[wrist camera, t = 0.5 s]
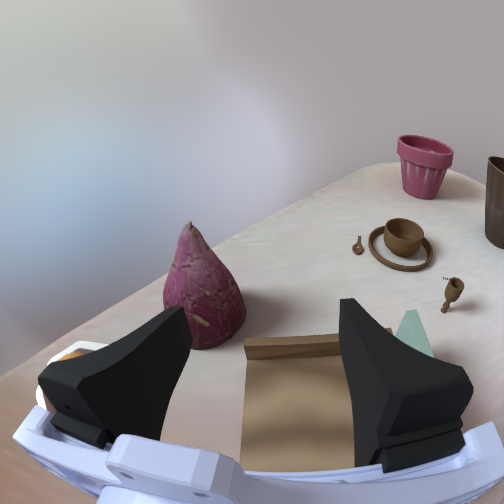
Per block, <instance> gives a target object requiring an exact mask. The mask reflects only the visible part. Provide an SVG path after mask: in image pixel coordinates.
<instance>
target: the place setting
mask: <svg viewBox="0 0 504 504" xmlns="http://www.w3.org/2000/svg"><path fill="white" fill-rule="evenodd" d="M383 233H384V242H385V245H386V246H387V247H388V249H390V250H391V252H392V253H393V254H395V255H397V256H401V257H405V256H409V255H413V254H415V253H416V252H417V251H418V250H419V249H420V246H421V244H422V245H423V246H424V248H425V249H426V252H427V260H426V262H425V263H423V264H421V265H417V266H403V265H398V264H395V263H392V262H390V261H388V260H386V259H384V258H383V257H381V256H380V255H379V254H378V253H377V252H376V251H375V250H374V249H373V247H372V243H373V240H374V239H375V238H376V237H377V236H378V235H380V234H383ZM360 240H361V236H358V242H357V243H356V244H355V245H354V246H353V247H352V249H353V252H354V253H355V254H360V253H361V252H362V251H363V246H362V245H361V243H360ZM357 246H358V247H359V248H357ZM369 248H370V251H371V253H372V254H373V256H374V257H375V258H376V259H377V260H378V261H379V262H381V263H382V264H384V265H386V266H388V267H390V268H392V269H395V270H399V271H417V270H420V269H422V268H424V267H425V266H427V264H428V263H429V262H430V260H431V258H432V254H433V251H432V247H431V245H430V243H429V242H428V241H427V239H426V238H425V237H424V232H423V230H422V228H421V227H420V226H419V225H418V224H416V223H415V222H413V221H410V220H407V219H402V218H395V219H391V220H389V221H388V222H387V223H386V225H385V226H381V227H379V228H376V229H375V230H373V231H372V232H371V234H370V236H369ZM443 279H444V277H443ZM445 279H446V278H445ZM447 280H448V278H447ZM463 289H464V283H463V282H462V281H461V280H460V279H458V278H455V277H453V278H451V279H450V278H449V282H448V284H447V287H446V290H445V298H446V302H444V304H443V308H441V312H442V313H446V312H447V309H448V308H449V306H450V303H451V302H455V301H456V300H457V299H458V298H459V297H460V295H461V293H462V291H463Z"/></svg>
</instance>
